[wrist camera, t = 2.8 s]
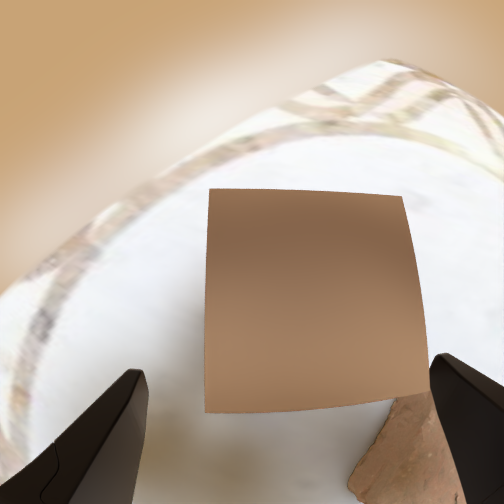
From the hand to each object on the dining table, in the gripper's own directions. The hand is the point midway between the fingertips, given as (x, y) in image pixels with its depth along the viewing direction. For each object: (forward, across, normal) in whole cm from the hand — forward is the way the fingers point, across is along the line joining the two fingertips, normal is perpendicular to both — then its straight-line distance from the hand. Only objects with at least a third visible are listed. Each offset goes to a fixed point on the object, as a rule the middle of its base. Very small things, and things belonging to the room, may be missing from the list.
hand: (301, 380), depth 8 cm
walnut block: (+8, 0, +5) cm, 10 cm away
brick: (+1, -13, +13) cm, 19 cm away
